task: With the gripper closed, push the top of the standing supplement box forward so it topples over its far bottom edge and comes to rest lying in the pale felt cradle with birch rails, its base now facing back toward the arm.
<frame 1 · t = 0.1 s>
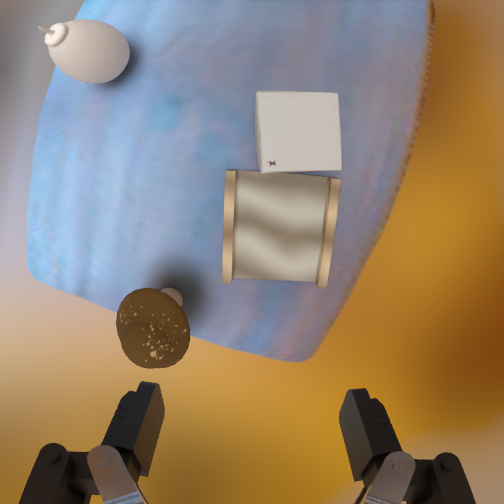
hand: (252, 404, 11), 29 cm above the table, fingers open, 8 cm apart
sauce bottle: (116, 64, 31), on the table
cradle: (278, 227, 39), on the table
supplement box: (284, 138, 35), on the table
mushroom: (173, 290, 42), on the table
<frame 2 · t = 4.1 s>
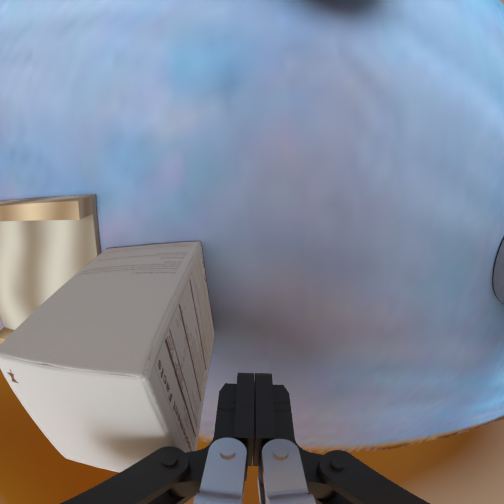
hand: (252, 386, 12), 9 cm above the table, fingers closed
cradle: (38, 280, 20), on the table
supplement box: (161, 290, 20), on the table, touching gripper
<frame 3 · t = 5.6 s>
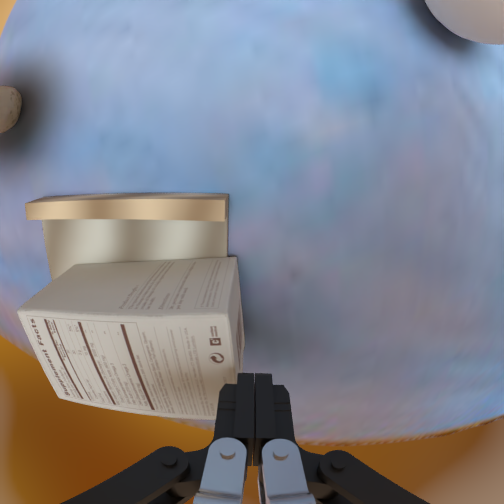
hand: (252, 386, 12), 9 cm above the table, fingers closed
sauce bottle: (441, 14, 13), on the table
cradle: (130, 288, 20), on the table
supplement box: (243, 336, 16), point 4 cm above the table, touching cradle
mushroom: (21, 109, 16), on the table
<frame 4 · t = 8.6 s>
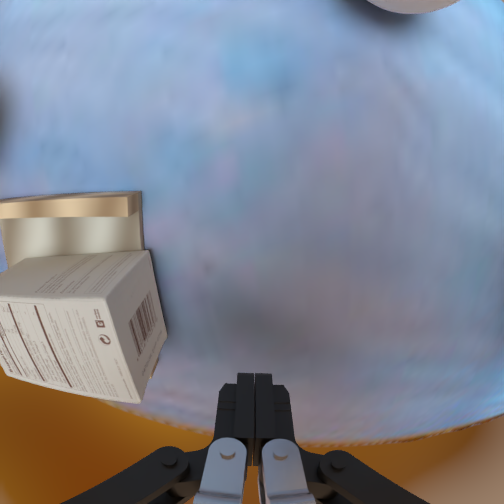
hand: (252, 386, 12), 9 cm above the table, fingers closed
cradle: (69, 280, 20), on the table
supplement box: (147, 324, 17), point 4 cm above the table, touching cradle
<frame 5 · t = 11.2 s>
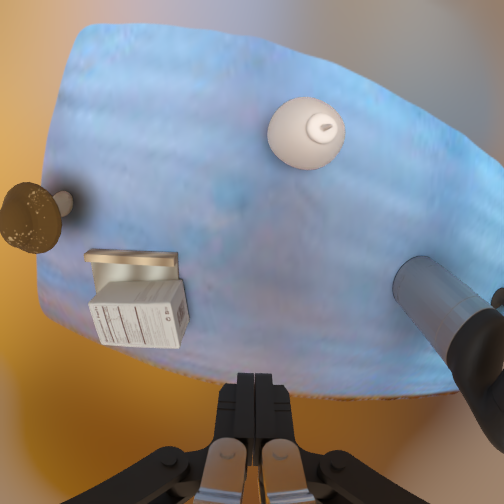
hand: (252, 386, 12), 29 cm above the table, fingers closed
sauce bottle: (295, 136, 36), on the table
sundae: (497, 297, 44), on the table
cradle: (136, 292, 43), on the table
supplement box: (182, 313, 39), point 4 cm above the table, touching cradle
mushroom: (71, 201, 38), on the table
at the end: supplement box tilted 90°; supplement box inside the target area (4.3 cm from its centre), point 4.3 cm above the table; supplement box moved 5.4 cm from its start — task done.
